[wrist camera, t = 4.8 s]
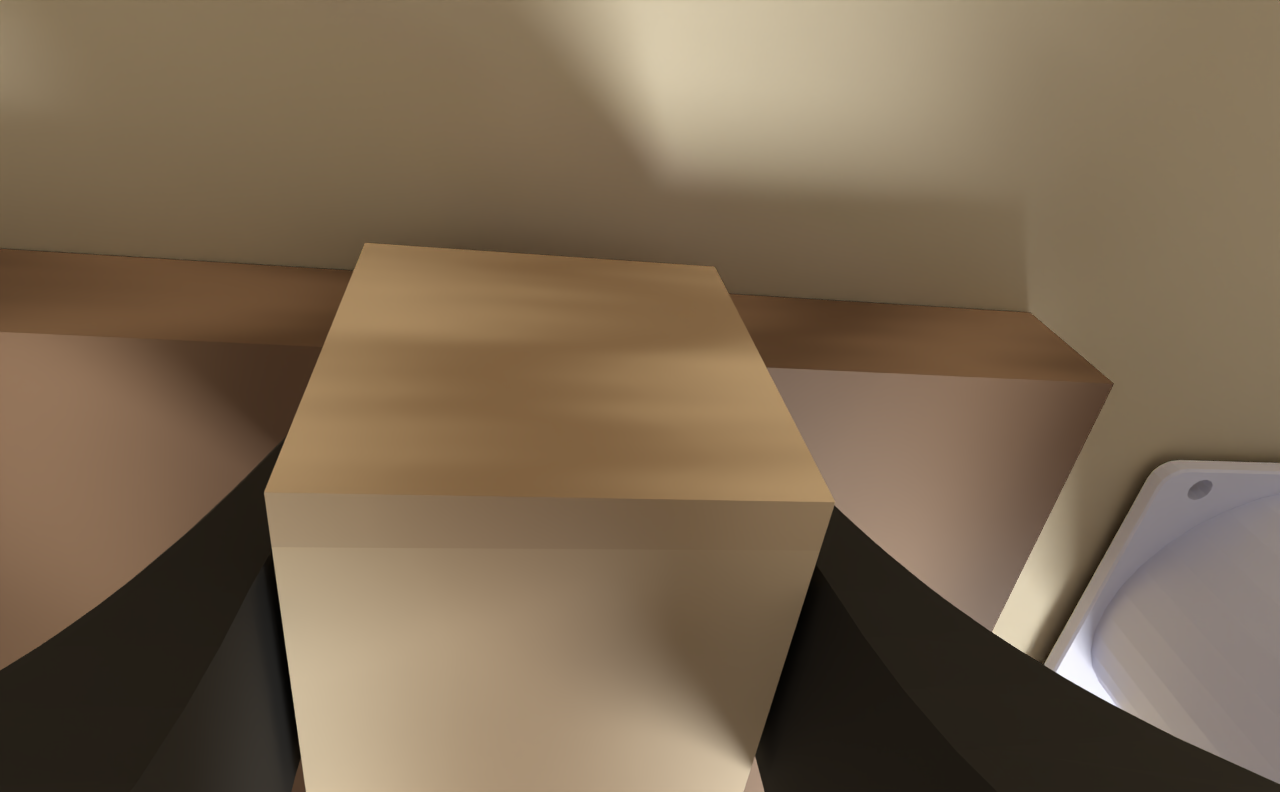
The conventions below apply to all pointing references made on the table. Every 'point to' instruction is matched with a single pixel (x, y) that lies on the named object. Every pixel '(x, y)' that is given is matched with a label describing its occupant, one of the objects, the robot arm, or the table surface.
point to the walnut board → (293, 339)
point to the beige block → (538, 529)
